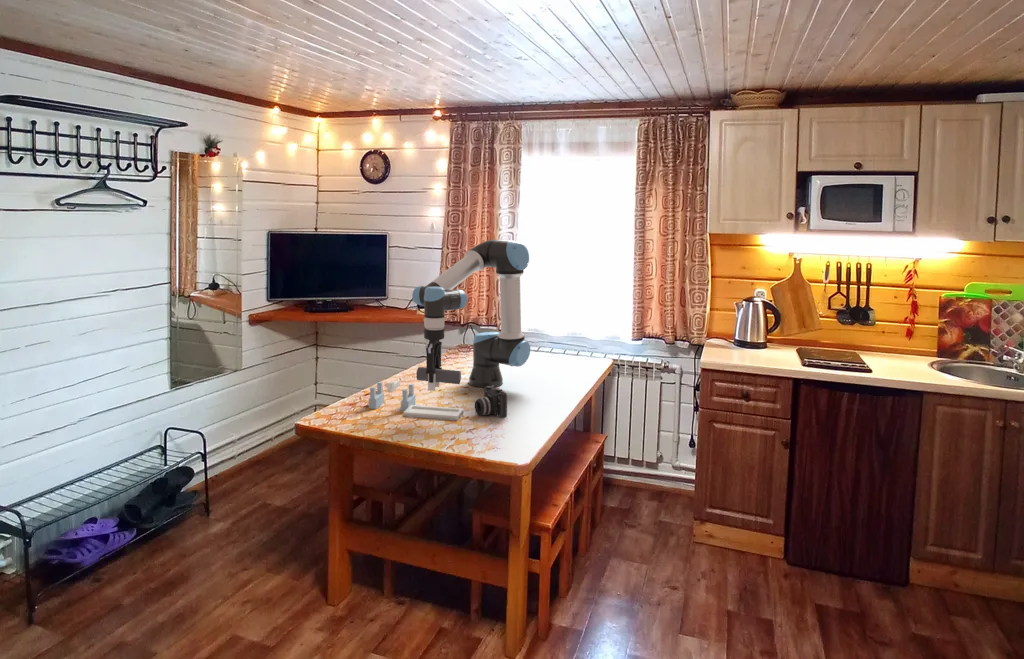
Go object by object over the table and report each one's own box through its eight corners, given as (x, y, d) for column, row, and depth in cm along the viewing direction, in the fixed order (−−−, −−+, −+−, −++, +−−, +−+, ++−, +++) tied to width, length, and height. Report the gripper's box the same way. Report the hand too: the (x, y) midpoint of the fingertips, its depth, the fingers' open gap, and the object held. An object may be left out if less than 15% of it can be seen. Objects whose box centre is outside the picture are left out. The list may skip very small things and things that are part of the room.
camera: (467, 410, 273) (468, 385, 271) (491, 406, 278) (492, 382, 276) (485, 420, 261) (485, 395, 259) (510, 416, 266) (510, 391, 264)
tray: (463, 412, 269) (463, 408, 269) (457, 420, 260) (457, 416, 260) (411, 408, 272) (411, 405, 272) (403, 416, 263) (403, 412, 263)
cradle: (415, 404, 278) (415, 384, 277) (408, 411, 269) (408, 390, 267) (377, 401, 280) (376, 381, 279) (368, 408, 271) (368, 387, 270)
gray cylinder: (460, 382, 265) (461, 369, 264) (457, 385, 260) (458, 372, 259) (420, 378, 267) (420, 365, 266) (416, 381, 262) (416, 368, 261)
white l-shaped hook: (400, 385, 270) (400, 376, 269) (392, 392, 260) (392, 383, 259) (394, 385, 270) (394, 376, 270) (386, 392, 261) (386, 383, 260)
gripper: (431, 323, 269) (430, 382, 273) (417, 331, 252) (417, 394, 256) (449, 324, 268) (449, 383, 272) (437, 333, 251) (437, 395, 255)
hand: (433, 388), depth 264 cm, fingers closed on gray cylinder, 5 cm apart
